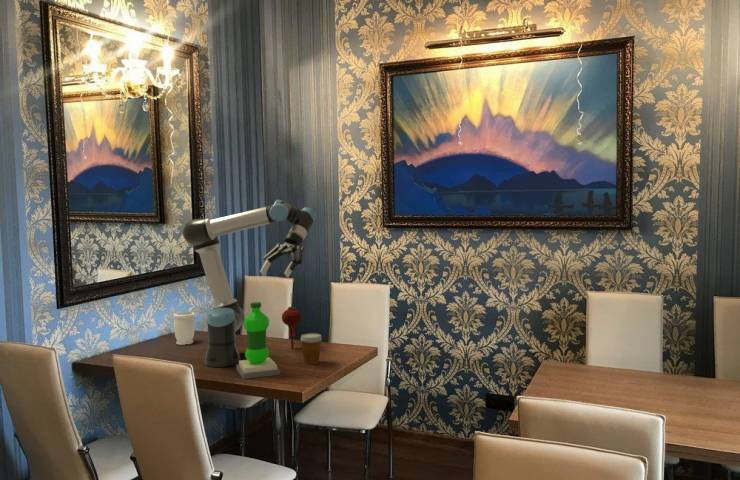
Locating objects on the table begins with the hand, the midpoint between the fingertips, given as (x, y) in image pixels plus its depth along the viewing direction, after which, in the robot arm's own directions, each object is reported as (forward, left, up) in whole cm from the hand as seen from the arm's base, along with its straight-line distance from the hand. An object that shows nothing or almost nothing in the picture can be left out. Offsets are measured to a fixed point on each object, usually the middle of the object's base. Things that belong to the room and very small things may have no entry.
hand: (273, 274), depth 268 cm
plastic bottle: (+5, -9, -36) cm, 37 cm away
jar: (-61, -31, -40) cm, 80 cm away
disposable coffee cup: (+1, +16, -40) cm, 43 cm away
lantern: (-27, +15, -40) cm, 51 cm away
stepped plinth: (+6, -9, -40) cm, 41 cm away
